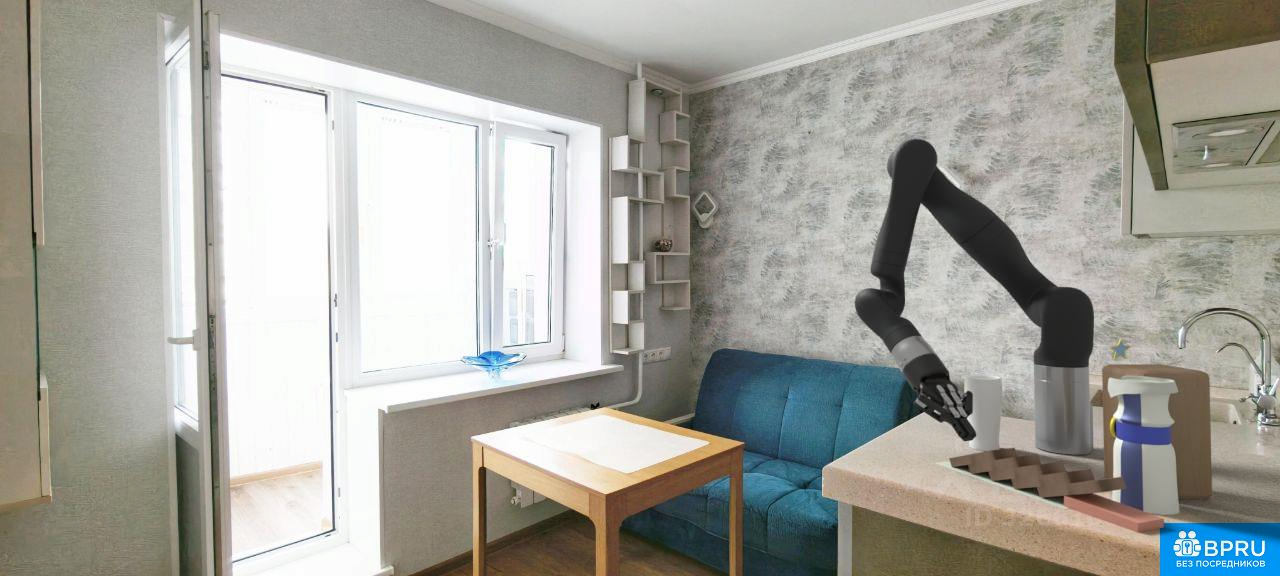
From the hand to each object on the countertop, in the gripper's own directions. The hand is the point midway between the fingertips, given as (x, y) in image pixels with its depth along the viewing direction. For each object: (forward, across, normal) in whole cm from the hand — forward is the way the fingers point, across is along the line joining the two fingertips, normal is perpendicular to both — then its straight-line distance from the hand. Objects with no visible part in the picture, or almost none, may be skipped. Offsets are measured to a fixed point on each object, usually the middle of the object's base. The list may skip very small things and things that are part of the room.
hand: (970, 438), depth 107 cm
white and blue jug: (+20, +9, -12) cm, 25 cm away
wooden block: (+17, +19, -8) cm, 27 cm away
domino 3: (+8, 0, -1) cm, 8 cm away
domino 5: (+14, 0, -7) cm, 16 cm away
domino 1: (+2, 0, +5) cm, 5 cm away
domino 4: (+11, 0, -4) cm, 12 cm away
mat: (+9, 0, -1) cm, 9 cm away
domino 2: (+5, 0, +2) cm, 5 cm away
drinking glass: (-3, +14, +12) cm, 18 cm away
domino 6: (+17, 0, -10) cm, 20 cm away
